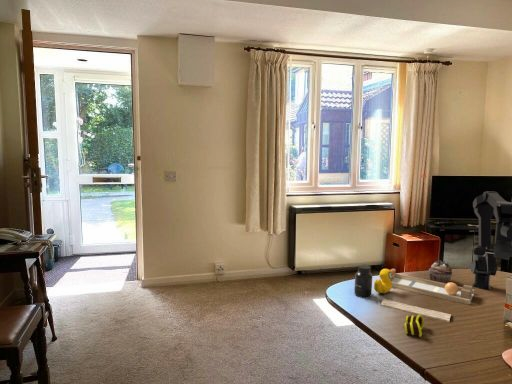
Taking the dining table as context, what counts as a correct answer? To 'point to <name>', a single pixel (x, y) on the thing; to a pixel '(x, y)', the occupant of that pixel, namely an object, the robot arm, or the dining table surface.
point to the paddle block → (466, 292)
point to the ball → (451, 288)
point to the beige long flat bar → (416, 310)
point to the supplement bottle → (363, 281)
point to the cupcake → (440, 272)
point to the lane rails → (427, 292)
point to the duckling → (384, 281)
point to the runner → (425, 287)
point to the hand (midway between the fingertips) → (500, 275)
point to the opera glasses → (414, 325)
